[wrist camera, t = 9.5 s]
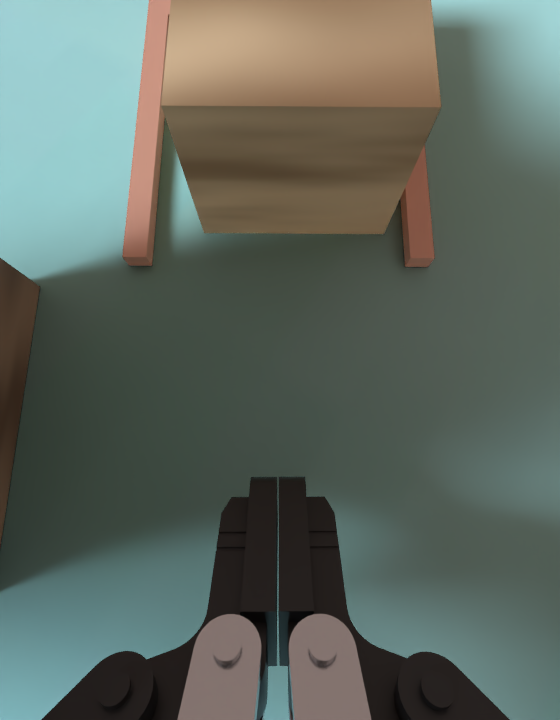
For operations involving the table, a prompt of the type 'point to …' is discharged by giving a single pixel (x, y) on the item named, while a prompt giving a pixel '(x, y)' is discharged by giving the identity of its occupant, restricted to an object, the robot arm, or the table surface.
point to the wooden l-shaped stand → (13, 364)
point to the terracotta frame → (150, 152)
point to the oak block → (299, 110)
